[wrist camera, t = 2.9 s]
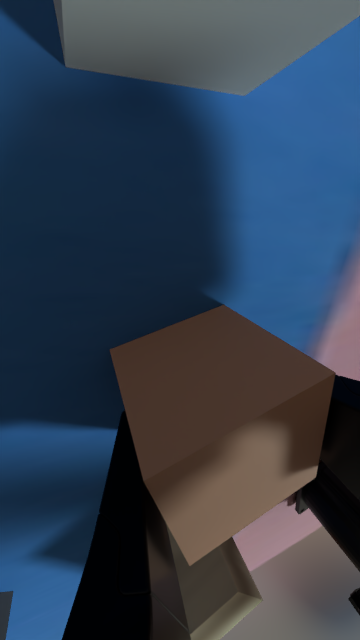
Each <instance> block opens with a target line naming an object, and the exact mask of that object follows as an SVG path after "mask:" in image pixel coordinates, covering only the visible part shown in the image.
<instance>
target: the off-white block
mask: <svg viewBox="0 0 360 640" xmlns="http://www.w3.org/2000/svg"><path fill="white" fill-rule="evenodd" d="M53 1H54V7H55V12H56V18H57V23H58V28H59V34H60V39H61V45H62V50H63V56H64V61H65V67H68V68H74V69H80V70H86V71H93V72H99V73H105V74H111V75H117V76H124V77H130V78H136V79H142V80H149V81H155V82H161V83H167V84H174V85H180V86H186V87H192V88H199V89H205V90H211V91H217V92H224V93H230V94H236V95H242V96H245V95H247V94H248V93H250V92H251V91H252V90H254V89H255V88H257V87H258V86H260V85H261V84H262V83H264V82H265V81H267V80H268V79H270V78H271V77H272V76H274V75H275V74H277V73H278V72H280V71H281V70H283V69H284V68H285V67H287V66H288V65H290V64H291V63H293V62H294V61H295V60H297V59H298V58H300V57H301V56H303V55H304V54H306V53H307V52H308V51H310V50H311V49H313V48H314V47H316V46H317V45H318V44H320V43H321V42H323V41H324V40H326V39H327V38H328V37H330V36H331V35H333V34H334V33H336V32H337V31H339V30H340V29H341V28H343V27H344V26H346V25H347V24H349V23H350V22H351V21H353V20H354V19H356V18H357V17H359V16H360V0H53Z"/></svg>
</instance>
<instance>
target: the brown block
mask: <svg viewBox="0 0 360 640" xmlns="http://www.w3.org/2000/svg"><path fill="white" fill-rule="evenodd" d="M110 353H111V357H112V361H113V365H114V369H115V372H116V376H117V380H118V384H119V388H120V392H121V396H122V400H123V403H124V407H125V411H126V415H127V419H128V423H129V427H130V430H131V434H132V438H133V442H134V446H135V450H136V454H137V457H138V461H139V465H140V469H141V473H142V477H143V481H144V483H145V485H146V487H147V488H148V490H149V492H150V494H151V496H152V498H153V499H154V501H155V503H156V505H157V507H158V509H159V510H160V512H161V514H162V516H163V518H164V520H165V522H166V523H167V525H168V527H169V529H170V531H171V533H172V534H173V536H174V538H175V540H176V542H177V544H178V546H179V547H180V549H181V551H182V553H183V555H184V557H185V558H186V560H187V562H188V564H189V566H191V565H192V564H194V563H195V562H196V561H198V560H199V559H201V558H202V557H203V556H205V555H206V554H208V553H209V552H211V551H212V550H213V549H215V548H216V547H218V546H219V545H220V544H222V543H223V542H225V541H226V540H228V539H229V538H230V537H232V536H233V535H235V534H236V533H238V532H239V531H240V530H242V529H243V528H245V527H246V526H247V525H249V524H250V523H252V522H253V521H255V520H256V519H257V518H259V517H260V516H262V515H263V514H264V513H266V512H267V511H269V510H270V509H272V508H273V507H274V506H276V505H277V504H279V503H280V502H282V501H283V500H284V499H286V498H287V497H289V496H290V495H291V494H293V493H294V492H296V491H297V490H299V489H300V488H301V487H303V486H304V485H306V484H307V483H309V482H310V481H311V480H313V479H314V478H316V474H317V469H318V464H319V458H320V453H321V448H322V442H323V437H324V432H325V426H326V421H327V416H328V410H329V405H330V400H331V395H332V389H333V384H334V379H335V372H334V371H332V370H330V369H329V368H327V367H325V366H324V365H322V364H320V363H319V362H317V361H316V360H314V359H312V358H311V357H309V356H307V355H306V354H304V353H302V352H301V351H299V350H297V349H296V348H294V347H293V346H291V345H289V344H288V343H286V342H284V341H283V340H281V339H279V338H278V337H276V336H274V335H273V334H271V333H270V332H268V331H266V330H265V329H263V328H261V327H260V326H258V325H256V324H255V323H253V322H251V321H250V320H248V319H247V318H245V317H243V316H242V315H240V314H238V313H237V312H235V311H233V310H232V309H230V308H228V307H227V306H225V305H222V306H219V307H217V308H214V309H211V310H209V311H206V312H204V313H201V314H199V315H196V316H194V317H191V318H189V319H186V320H183V321H181V322H178V323H176V324H173V325H171V326H168V327H166V328H163V329H161V330H158V331H155V332H153V333H150V334H148V335H145V336H143V337H140V338H138V339H135V340H133V341H130V342H128V343H125V344H122V345H120V346H117V347H115V348H112V349H110Z"/></svg>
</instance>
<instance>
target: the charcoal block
mask: <svg viewBox="0 0 360 640" xmlns="http://www.w3.org/2000/svg"><path fill="white" fill-rule="evenodd" d="M12 596H13V591H9V592H0V640H5V639H6V633H7V627H8V621H9V615H10V609H11V602H12Z"/></svg>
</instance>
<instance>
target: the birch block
mask: <svg viewBox="0 0 360 640" xmlns="http://www.w3.org/2000/svg"><path fill="white" fill-rule="evenodd" d="M166 525H167V523H166ZM167 529H168V534H169V539H170V543H171V548H172V553H173V557H174V562H175V567H176V571H177V576H178V581H179V586H180V590H181V595H182V600H183V604H184V609H185V614H186V618H187V623H188V628H189V634H190V637H191V640H220V639H221V638H222V637H223V636H224V635H225V634H226V633H227V632H229V630H231V629H232V628H233V627H234V626H235V625H236V624H237V623H239V622H240V620H242V619H243V618H244V617H245V616H246V615H247V614H248V613H250V612H251V611H252V610H253V609H254V608H255V607H256V606H257V605H258V604H259V603H261V602H262V601H263V599H262V597H261V595H260V593H259V591H258V589H257V587H256V585H255V583H254V581H253V579H252V577H251V575H250V573H249V570H248V568H247V566H246V564H245V562H244V560H243V558H242V556H241V554H240V552H239V550H238V548H237V546H236V544H235V542H234V540H233V538H232V537H230V538H229V539H228V540H226V541H225V542H223V543H222V544H220V545H219V546H218V547H216V548H215V549H213V550H212V551H211V552H209V553H208V554H206V555H205V556H203V557H202V558H201V559H199V560H198V561H196V562H195V563H194V564H192V565H191V566H189V564H188V562H187V560H186V558H185V557H184V555H183V553H182V551H181V549H180V547H179V546H178V544H177V542H176V540H175V538H174V536H173V534H172V533H171V531H170V529H169V527H168V525H167Z"/></svg>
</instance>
